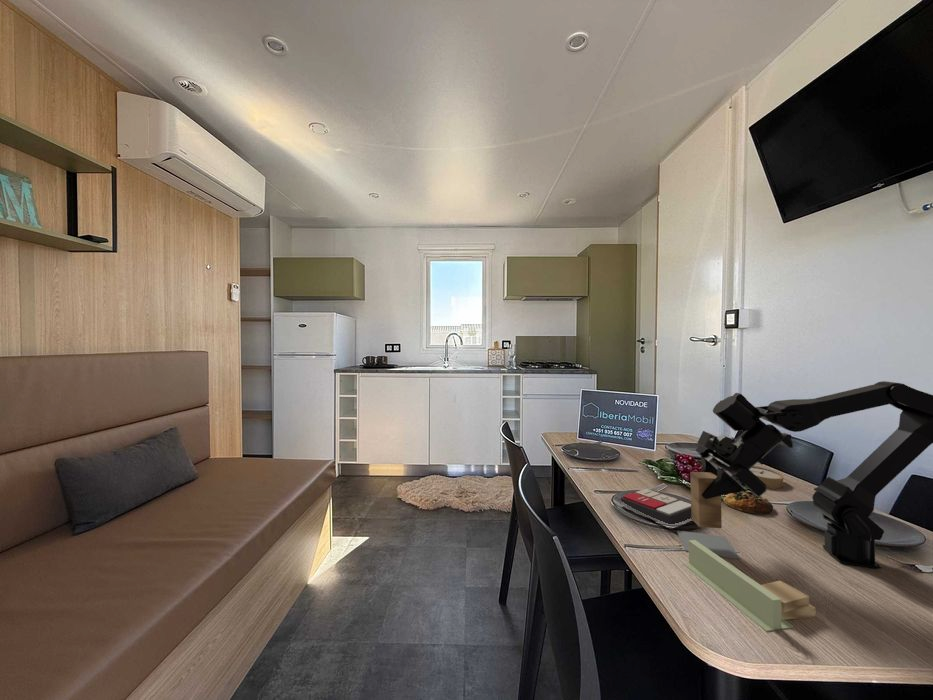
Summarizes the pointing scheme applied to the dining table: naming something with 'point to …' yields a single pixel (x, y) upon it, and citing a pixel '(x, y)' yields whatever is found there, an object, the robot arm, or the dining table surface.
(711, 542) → the felt pad
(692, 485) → the brown wooden block
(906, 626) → the dining table surface
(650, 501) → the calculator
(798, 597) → the offcut upper
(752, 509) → the bread roll
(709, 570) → the green flanged rail
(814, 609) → the offcut lower
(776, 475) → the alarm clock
